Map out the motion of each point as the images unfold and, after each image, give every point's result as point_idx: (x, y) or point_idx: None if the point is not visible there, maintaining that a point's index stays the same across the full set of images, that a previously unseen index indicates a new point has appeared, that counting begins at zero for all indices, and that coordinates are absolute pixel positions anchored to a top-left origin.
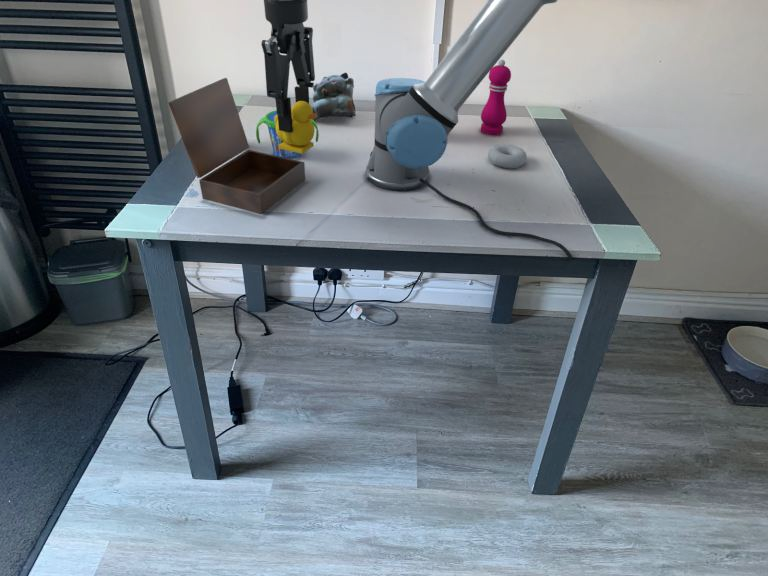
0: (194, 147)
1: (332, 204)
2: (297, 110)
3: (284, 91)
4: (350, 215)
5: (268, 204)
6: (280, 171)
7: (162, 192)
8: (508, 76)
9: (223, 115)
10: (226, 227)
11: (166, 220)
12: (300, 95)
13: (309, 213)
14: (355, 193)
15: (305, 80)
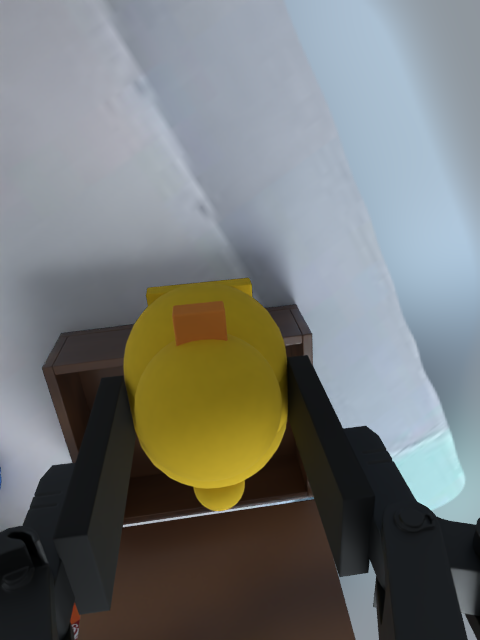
0: (316, 582)
1: (119, 181)
2: (278, 411)
3: (442, 558)
4: (142, 82)
5: None
6: (85, 412)
7: None
8: None
9: None
10: (377, 339)
11: (403, 451)
12: (108, 526)
13: (209, 209)
14: (3, 156)
15: (54, 617)
